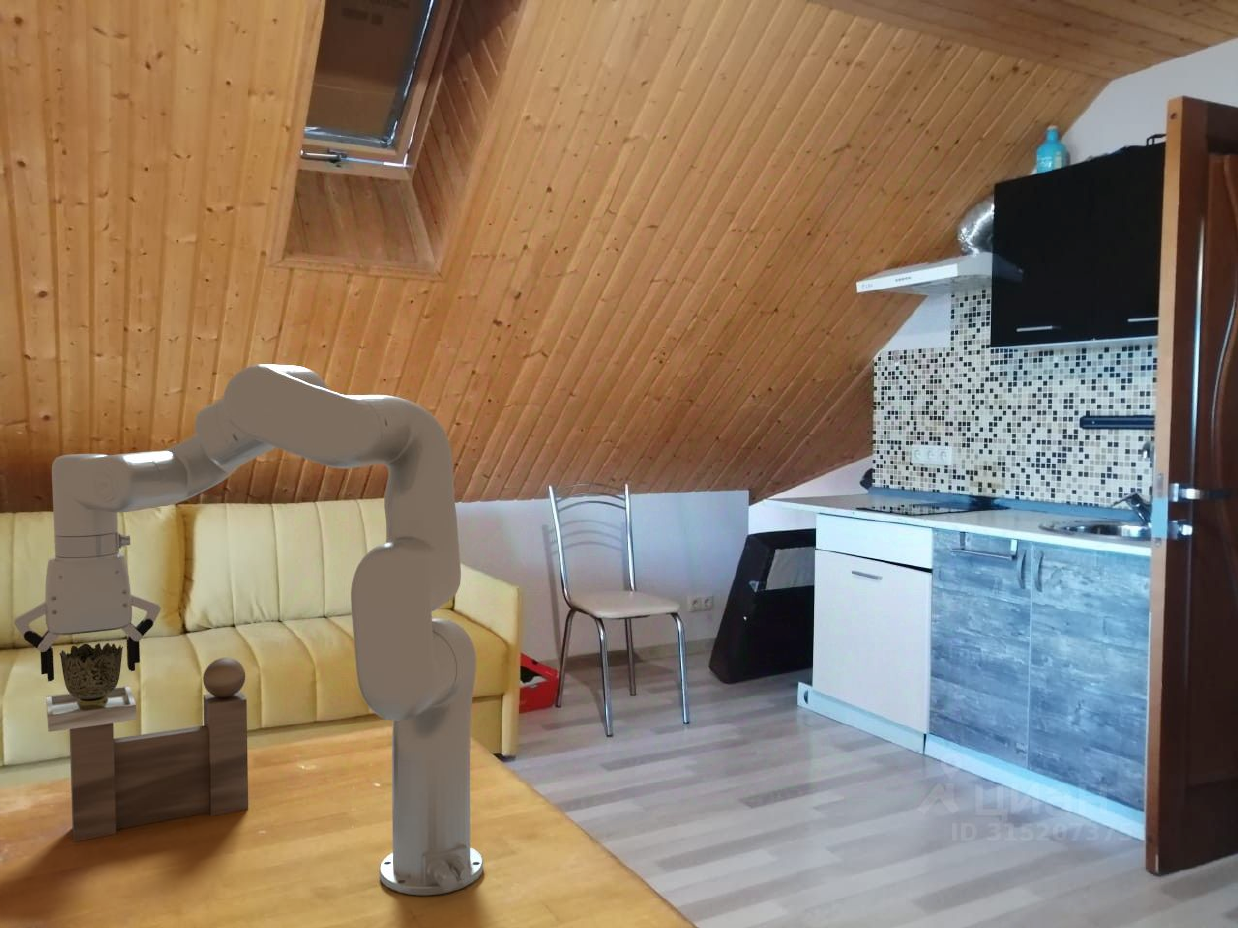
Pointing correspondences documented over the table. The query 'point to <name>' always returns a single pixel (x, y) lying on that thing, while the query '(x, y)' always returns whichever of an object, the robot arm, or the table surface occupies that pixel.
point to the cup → (91, 673)
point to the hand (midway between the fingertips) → (91, 673)
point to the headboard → (155, 759)
